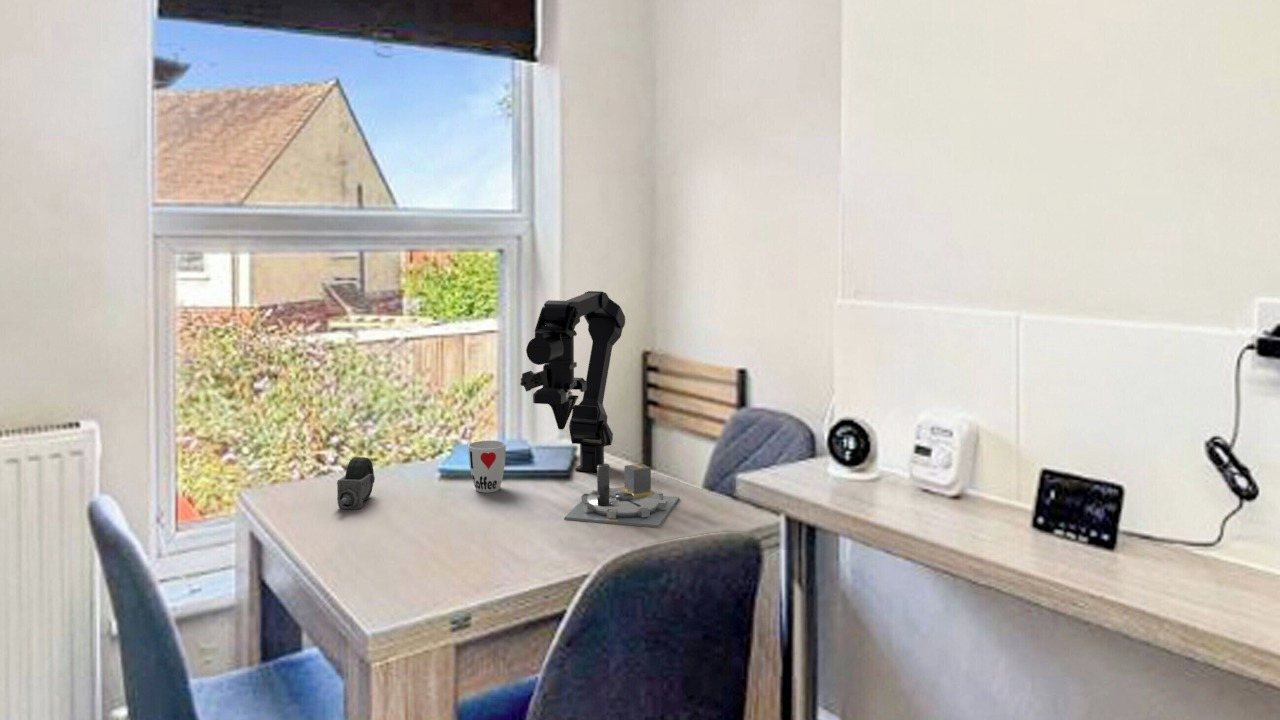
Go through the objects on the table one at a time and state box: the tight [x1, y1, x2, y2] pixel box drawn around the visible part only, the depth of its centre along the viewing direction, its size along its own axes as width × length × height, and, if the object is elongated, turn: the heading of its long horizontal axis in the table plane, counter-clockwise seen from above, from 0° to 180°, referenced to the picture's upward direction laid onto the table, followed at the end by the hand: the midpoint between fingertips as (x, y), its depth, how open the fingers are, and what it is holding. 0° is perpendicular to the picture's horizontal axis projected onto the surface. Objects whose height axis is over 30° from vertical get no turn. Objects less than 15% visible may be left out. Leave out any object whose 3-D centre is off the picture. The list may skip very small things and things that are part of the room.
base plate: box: [564, 489, 680, 529], centre depth 184 cm, size 19×19×1 cm
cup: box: [467, 440, 507, 493], centre depth 197 cm, size 8×8×10 cm
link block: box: [624, 463, 652, 494], centre depth 189 cm, size 4×4×5 cm
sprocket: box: [580, 463, 667, 519], centre depth 184 cm, size 18×18×10 cm
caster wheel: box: [336, 456, 376, 510], centre depth 187 cm, size 6×10×15 cm
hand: (561, 429), depth 198 cm, fingers closed
